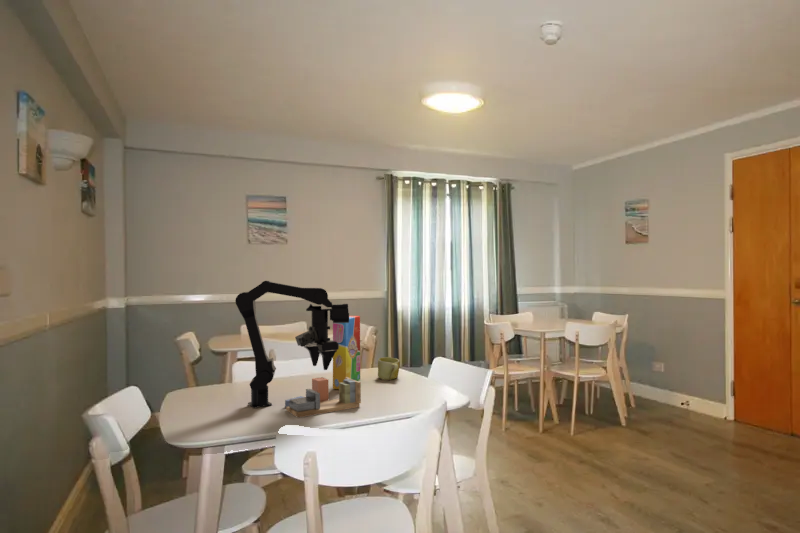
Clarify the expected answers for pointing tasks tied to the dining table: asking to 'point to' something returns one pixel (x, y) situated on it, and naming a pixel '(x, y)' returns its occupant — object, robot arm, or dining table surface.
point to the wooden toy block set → (337, 400)
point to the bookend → (306, 401)
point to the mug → (388, 368)
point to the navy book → (289, 399)
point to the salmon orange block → (321, 387)
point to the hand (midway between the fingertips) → (319, 367)
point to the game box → (346, 351)
